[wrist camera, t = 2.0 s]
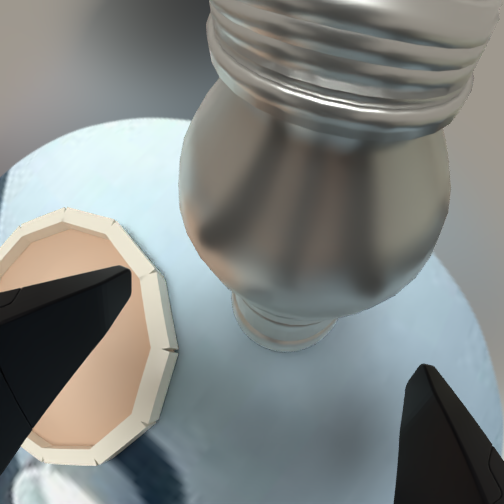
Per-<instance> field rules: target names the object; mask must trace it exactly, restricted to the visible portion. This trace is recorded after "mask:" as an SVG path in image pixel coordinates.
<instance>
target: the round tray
mask: <svg viewBox="0 0 504 504" xmlns="http://www.w3.org/2000/svg"><path fill="white" fill-rule="evenodd" d="M117 265H121V266H124V267H126V268H129V269H130V270H131V273H132V293H131V296H130V298H129V300H128V302H127V303H126V305H125V306H124V308H123V309H122V311H121V312H120V314H119V315H118V317H117V318H116V320H115V321H114V323H113V324H112V326H111V328H110V329H109V330H108V332H107V333H106V335H105V336H104V337H103V339H102V340H101V341H100V342H99V343H98V345H97V346H96V347H95V348H94V350H93V351H92V352H91V353H90V355H89V356H88V357H87V358H86V360H85V361H84V362H83V363H82V365H81V366H80V367H79V368H78V370H77V371H76V372H75V374H74V375H73V376H72V377H71V379H70V380H69V381H68V383H67V384H66V385H65V386H64V388H63V389H62V390H61V392H60V393H59V394H58V396H57V397H56V398H55V400H54V401H53V402H52V404H51V405H50V406H49V408H48V409H47V410H46V412H45V413H44V414H43V416H42V417H41V418H40V420H39V421H38V423H37V424H36V425H35V427H34V428H32V431H31V433H30V434H29V435H28V437H27V438H26V440H25V441H24V442H23V444H22V445H21V447H22V448H24V449H25V450H26V451H28V452H29V453H30V454H32V455H33V456H34V457H36V458H37V459H38V460H40V461H41V462H43V461H44V463H49V464H62V465H82V466H97V465H100V464H102V463H104V462H106V461H108V460H110V459H112V458H114V457H115V456H116V455H117V454H119V453H120V452H121V451H123V450H124V449H125V448H126V447H128V446H129V445H130V444H131V443H132V442H134V441H135V440H136V439H137V438H139V437H140V436H141V435H142V434H144V433H145V432H146V431H147V430H148V429H150V428H151V427H152V426H153V425H154V424H156V423H157V422H156V420H159V417H160V413H161V410H162V406H163V403H164V400H165V396H166V393H167V390H168V386H169V383H170V380H171V376H172V373H173V370H174V367H175V363H176V360H177V357H178V354H179V353H176V352H174V350H178V349H179V348H178V343H177V339H176V334H175V329H174V323H173V318H172V313H171V307H170V302H169V296H168V291H167V285H166V280H165V279H164V276H163V275H162V274H161V273H160V271H159V270H158V269H157V268H156V267H155V265H154V264H153V263H152V262H151V261H150V260H149V258H148V257H147V256H146V255H145V253H144V252H143V251H142V250H141V249H140V247H139V246H138V245H137V244H136V242H135V241H134V240H133V239H132V237H131V236H130V235H129V234H128V232H127V231H126V230H125V229H124V228H123V227H122V226H121V225H120V224H119V223H118V222H117V221H115V220H114V219H111V218H107V217H103V216H99V215H95V214H92V213H88V212H84V211H80V210H76V209H73V208H69V207H67V209H66V208H65V207H64V208H62V209H59V210H56V211H54V212H51V213H48V214H46V215H43V216H41V217H38V218H36V219H33V220H31V221H28V222H26V223H23V224H21V227H20V226H19V227H18V228H17V229H16V230H15V231H14V232H13V233H12V235H11V236H10V237H9V238H8V239H7V240H6V241H5V243H4V244H3V245H2V246H1V247H0V292H4V291H9V290H13V289H17V288H22V287H26V286H30V285H34V284H38V283H43V282H47V281H51V280H55V279H60V278H64V277H68V276H73V275H77V274H81V273H86V272H90V271H95V270H99V269H103V268H108V267H112V266H117Z"/></svg>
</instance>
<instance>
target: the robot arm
mask: <svg viewBox="0 0 504 504" xmlns="http://www.w3.org/2000/svg"><path fill="white" fill-rule="evenodd" d="M131 293H132V273H131V270H130V269H129V268H126V267H124V266H121V265H117V266H112V267H108V268H103V269H99V270H95V271H90V272H86V273H81V274H77V275H73V276H68V277H64V278H60V279H55V280H51V281H47V282H43V283H38V284H34V285H30V286H26V287H22V288H17V289H13V290H9V291H4V292H0V475H1V474H2V473H3V471H4V470H5V468H6V467H7V466H8V464H9V463H10V461H11V460H12V458H13V457H14V455H15V454H16V452H17V451H18V450H19V448H20V447H21V445H22V444H23V442H24V441H25V440H26V438H27V437H28V435H29V434H30V433H31V431H32V428H34V427H35V425H36V424H37V423H38V421H39V420H40V418H41V417H42V416H43V414H44V413H45V412H46V410H47V409H48V408H49V406H50V405H51V404H52V402H53V401H54V400H55V398H56V397H57V396H58V394H59V393H60V392H61V390H62V389H63V388H64V386H65V385H66V384H67V383H68V381H69V380H70V379H71V377H72V376H73V375H74V374H75V372H76V371H77V370H78V368H79V367H80V366H81V365H82V363H83V362H84V361H85V360H86V358H87V357H88V356H89V355H90V353H91V352H92V351H93V350H94V348H95V347H96V346H97V345H98V343H99V342H100V341H101V340H102V339H103V337H104V336H105V335H106V333H107V332H108V330H109V329H110V328H111V326H112V324H113V323H114V321H115V320H116V318H117V317H118V315H119V314H120V312H121V311H122V309H123V308H124V306H125V305H126V303H127V302H128V300H129V298H130V296H131ZM394 504H504V461H503V459H502V458H501V456H500V455H499V454H498V452H497V451H496V449H495V448H494V446H492V443H491V442H490V441H489V439H488V438H487V436H486V435H485V433H484V432H483V431H482V429H481V428H480V426H479V425H478V424H477V422H476V421H475V420H474V418H473V417H472V415H471V414H470V413H469V411H468V410H467V409H466V407H465V406H464V405H463V403H462V402H461V401H460V399H459V398H458V397H457V395H456V394H455V393H454V391H453V390H452V389H451V387H450V386H449V385H448V384H447V382H446V381H445V380H444V378H443V377H442V376H441V375H440V373H439V372H438V371H437V369H436V368H435V367H434V366H432V365H428V364H421V365H420V366H419V367H418V368H417V370H416V371H415V373H414V374H413V375H412V377H411V378H410V380H409V381H408V383H407V385H406V389H405V397H404V405H403V413H402V420H401V427H400V436H399V453H398V466H397V478H396V487H395V496H394Z"/></svg>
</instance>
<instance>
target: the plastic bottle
mask: <svg viewBox="0 0 504 504" xmlns="http://www.w3.org/2000/svg"><path fill="white" fill-rule="evenodd" d="M209 2H210V8H211V13H210V14H209V17H208V21H207V24H206V30H207V39H208V44H209V50H210V55H211V60H212V64H213V65H214V67H215V69H216V71H217V73H218V75H219V77H220V78H219V79H218V80H217V82H216V83H215V84H214V85H213V87H212V88H211V89H210V90H209V92H208V93H207V95H206V97H205V98H204V100H203V102H202V103H201V105H200V107H199V109H198V110H197V112H196V114H195V116H194V118H193V119H192V122H191V124H190V126H189V128H188V130H187V133H186V135H185V137H184V141H183V146H182V151H181V156H180V165H179V181H178V187H179V206H180V211H181V215H182V218H183V222H184V225H185V229H186V232H187V234H188V236H189V238H190V240H191V242H192V243H193V245H194V247H195V249H196V251H197V252H198V254H199V256H200V258H201V259H202V260H203V261H204V262H205V263H206V265H207V266H208V267H209V268H210V270H211V271H212V272H213V273H214V274H215V275H216V276H217V277H218V278H219V279H220V281H221V282H222V283H223V284H224V285H225V286H226V287H227V288H228V289H229V290H231V291H232V295H231V300H232V308H233V312H234V315H235V318H236V320H237V322H238V324H239V326H240V327H241V329H242V330H243V332H244V333H245V334H246V335H247V336H248V337H249V338H250V339H251V340H253V341H254V342H255V343H257V344H258V345H260V346H262V347H265V348H267V349H269V350H273V351H278V352H295V351H299V350H304V349H306V348H308V347H311V346H313V345H315V344H316V343H318V342H319V341H320V340H322V339H323V338H324V337H325V336H326V335H327V334H328V333H329V332H330V331H331V330H332V328H333V327H334V325H335V323H336V322H337V320H338V318H341V317H345V316H349V315H353V314H357V313H360V312H362V311H364V310H367V309H370V308H372V307H374V306H376V305H378V304H380V303H381V302H383V301H385V300H387V299H389V298H391V297H393V296H395V295H396V294H397V293H398V292H400V291H401V290H402V289H403V288H404V287H405V286H407V285H408V284H409V283H410V282H411V281H412V280H413V279H415V278H416V276H417V275H418V274H419V272H420V271H421V269H422V268H423V267H424V265H425V264H426V262H427V261H428V259H429V258H430V256H431V254H432V252H433V249H434V247H435V245H436V242H437V240H438V238H439V235H440V232H441V230H442V227H443V225H444V222H445V219H446V216H447V214H448V209H449V200H450V192H451V185H450V171H449V160H448V152H447V146H446V139H445V135H444V132H443V128H444V127H445V126H447V125H449V124H450V123H451V122H452V120H453V119H454V118H455V116H456V115H457V114H458V113H459V111H460V109H461V108H462V106H463V105H464V103H465V101H466V99H467V98H468V96H469V94H470V93H471V90H472V86H473V81H474V75H473V71H474V69H475V67H476V65H477V63H478V61H479V59H480V57H481V55H482V53H483V51H484V49H485V47H486V46H487V43H488V41H489V40H490V37H491V35H492V33H493V31H494V29H495V27H496V25H497V23H498V21H499V10H500V7H501V6H502V0H209Z"/></svg>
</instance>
